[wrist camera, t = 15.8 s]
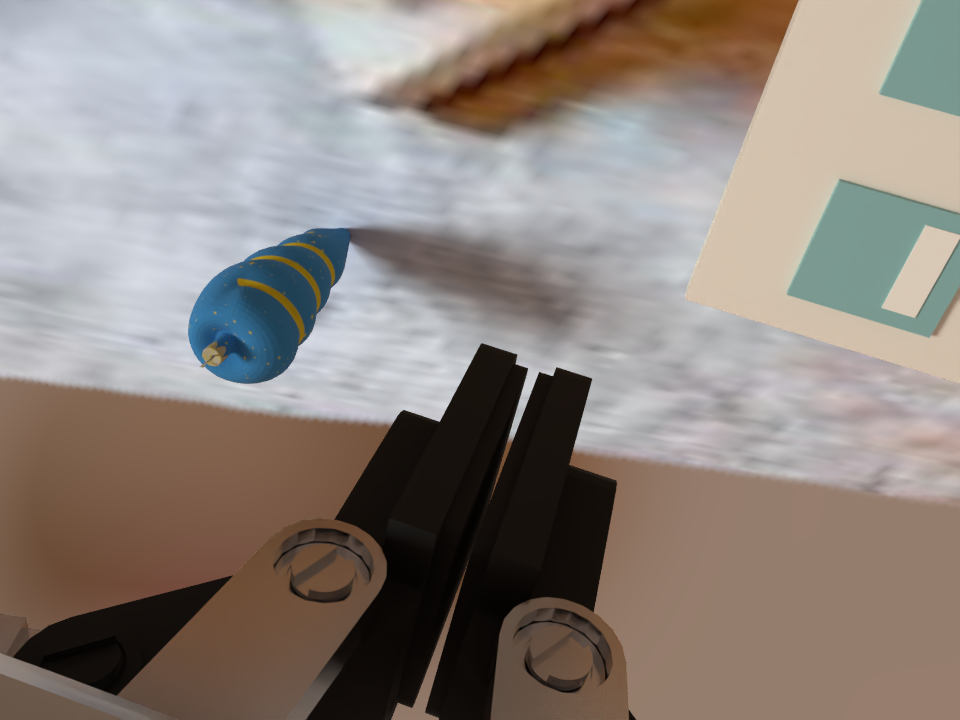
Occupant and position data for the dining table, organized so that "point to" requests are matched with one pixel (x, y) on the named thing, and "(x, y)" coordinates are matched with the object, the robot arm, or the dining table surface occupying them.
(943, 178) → the label board
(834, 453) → the dining table surface
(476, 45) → the dining table surface
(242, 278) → the ornament
